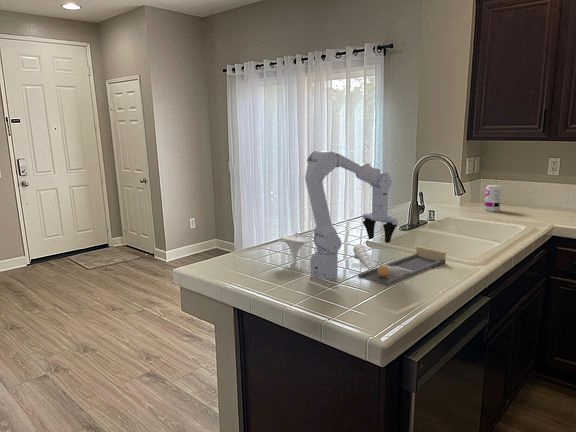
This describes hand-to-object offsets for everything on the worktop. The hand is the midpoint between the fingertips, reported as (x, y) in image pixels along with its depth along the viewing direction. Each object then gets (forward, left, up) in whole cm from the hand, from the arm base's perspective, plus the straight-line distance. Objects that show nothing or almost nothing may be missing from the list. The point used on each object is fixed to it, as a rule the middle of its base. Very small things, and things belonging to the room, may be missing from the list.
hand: (379, 240), depth 164 cm
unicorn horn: (0, +6, -10) cm, 12 cm away
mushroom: (-19, +26, -10) cm, 34 cm away
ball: (-10, -10, -9) cm, 17 cm away
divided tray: (+2, -10, -13) cm, 17 cm away
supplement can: (+128, +17, -10) cm, 129 cm away
